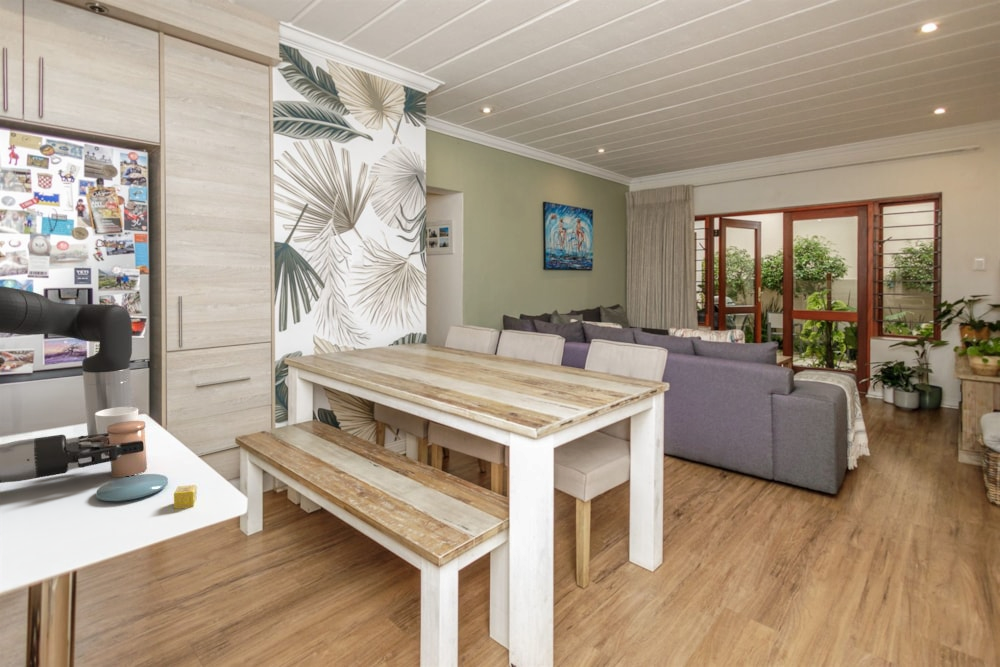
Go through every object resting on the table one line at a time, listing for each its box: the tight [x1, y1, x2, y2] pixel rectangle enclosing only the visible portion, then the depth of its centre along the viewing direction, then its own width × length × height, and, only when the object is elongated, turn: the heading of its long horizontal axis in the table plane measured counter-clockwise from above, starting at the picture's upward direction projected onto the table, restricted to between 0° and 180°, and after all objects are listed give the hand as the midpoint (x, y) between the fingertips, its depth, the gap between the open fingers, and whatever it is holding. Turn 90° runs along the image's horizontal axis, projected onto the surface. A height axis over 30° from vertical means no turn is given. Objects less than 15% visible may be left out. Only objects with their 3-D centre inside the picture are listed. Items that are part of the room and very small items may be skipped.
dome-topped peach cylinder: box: [107, 420, 148, 478], centre depth 105 cm, size 6×6×10 cm
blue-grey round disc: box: [95, 473, 169, 502], centre depth 96 cm, size 11×11×1 cm
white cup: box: [95, 406, 139, 453], centre depth 115 cm, size 8×8×10 cm
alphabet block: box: [173, 484, 198, 510], centre depth 91 cm, size 3×3×3 cm
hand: (141, 441), depth 107 cm, fingers closed on dome-topped peach cylinder, 6 cm apart
